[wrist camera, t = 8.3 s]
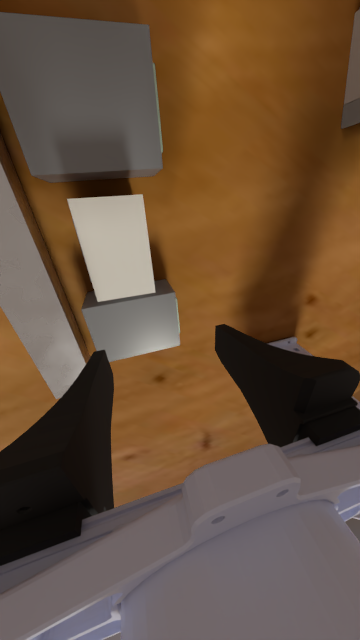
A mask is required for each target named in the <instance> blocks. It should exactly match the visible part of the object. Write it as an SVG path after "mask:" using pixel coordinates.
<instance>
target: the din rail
mask: <svg viewBox="0 0 360 640" xmlns="http://www.w3.org/2000/svg"><path fill="white" fill-rule="evenodd" d="M0 306H1V308H2V309H3V311H4V313H5V314H6V316H7V318H8V319H9V321H10V323H11V324H12V326H13V328H14V329H15V331H16V333H17V334H18V336H19V338H20V339H21V341H22V343H23V345H24V346H25V348H26V350H27V351H28V353H29V355H30V356H31V358H32V360H33V361H34V363H35V365H36V366H37V368H38V370H39V371H40V373H41V375H42V376H43V378H44V380H45V381H46V383H47V385H48V386H49V388H50V390H51V391H52V393H53V395H54V396H55V398H56V399H58V398H61V397H62V396H63V395H64V394H65V393H66V391H67V390H68V389H69V388H70V386H71V385H72V384H73V382H74V381H75V380H76V378H77V377H78V375H79V374H80V373H81V371H82V370H83V368H84V367H85V365H86V364H87V362H88V360H89V359H90V355H89V353H88V350H87V348H86V345H85V343H84V340H83V338H82V335H81V333H80V330H79V328H78V325H77V323H76V320H75V318H74V315H73V313H72V310H71V308H70V305H69V303H68V300H67V298H66V295H65V293H64V291H63V288H62V286H61V283H60V281H59V278H58V276H57V273H56V271H55V268H54V266H53V263H52V261H51V258H50V256H49V253H48V251H47V248H46V246H45V243H44V241H43V238H42V236H41V233H40V231H39V228H38V226H37V223H36V221H35V218H34V216H33V213H32V211H31V208H30V206H29V203H28V201H27V198H26V196H25V193H24V191H23V188H22V186H21V183H20V181H19V178H18V176H17V173H16V171H15V168H14V166H13V163H12V161H11V158H10V156H9V153H8V151H7V148H6V146H5V143H4V141H3V138H2V136H1V133H0Z"/></svg>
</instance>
